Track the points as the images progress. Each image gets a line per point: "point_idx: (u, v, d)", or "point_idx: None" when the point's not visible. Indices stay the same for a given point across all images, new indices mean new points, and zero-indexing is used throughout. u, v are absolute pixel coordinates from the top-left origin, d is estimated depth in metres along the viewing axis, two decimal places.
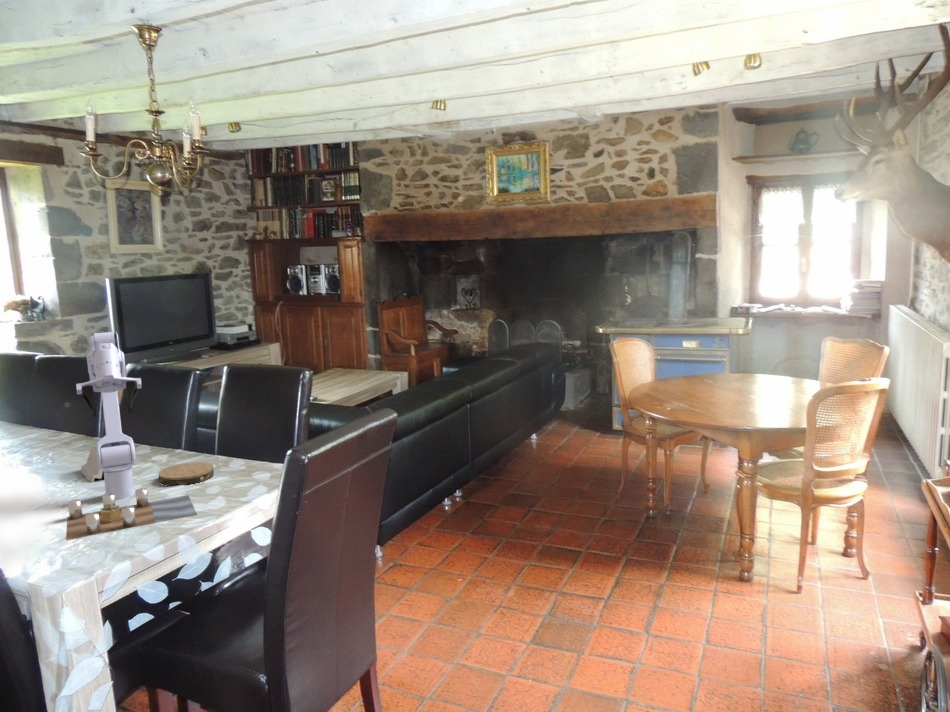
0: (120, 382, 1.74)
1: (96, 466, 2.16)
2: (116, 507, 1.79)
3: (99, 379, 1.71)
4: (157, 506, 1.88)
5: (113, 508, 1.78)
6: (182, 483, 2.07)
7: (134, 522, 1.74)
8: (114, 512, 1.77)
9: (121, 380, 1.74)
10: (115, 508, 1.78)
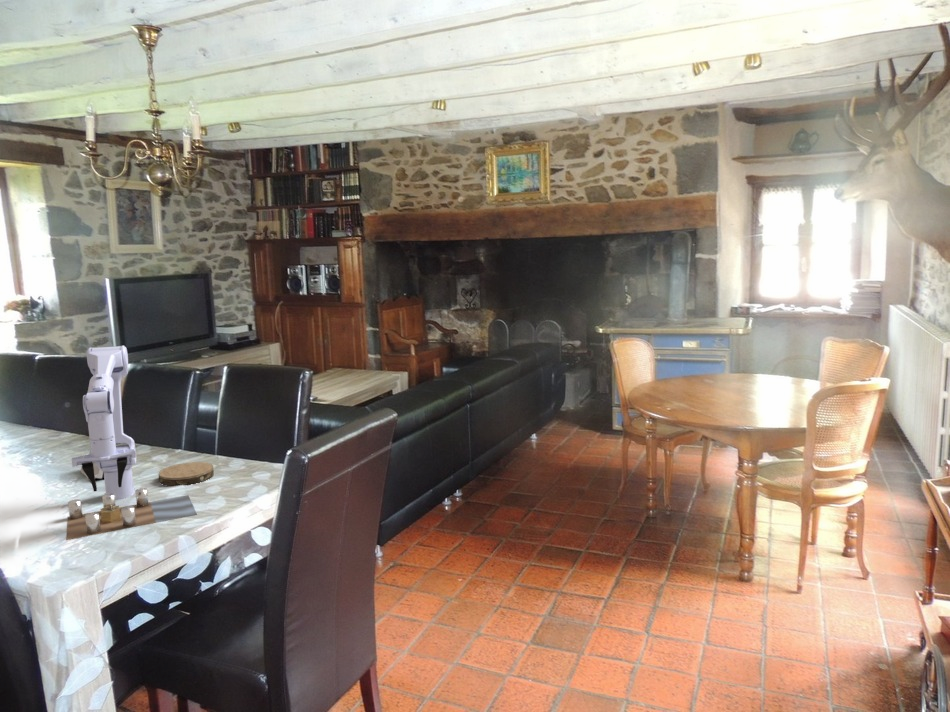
0: None
1: (96, 466, 2.17)
2: (116, 507, 1.79)
3: (95, 459, 1.73)
4: (157, 506, 1.88)
5: (113, 508, 1.78)
6: (182, 483, 2.07)
7: (134, 522, 1.74)
8: (114, 512, 1.77)
9: None
10: (115, 508, 1.78)
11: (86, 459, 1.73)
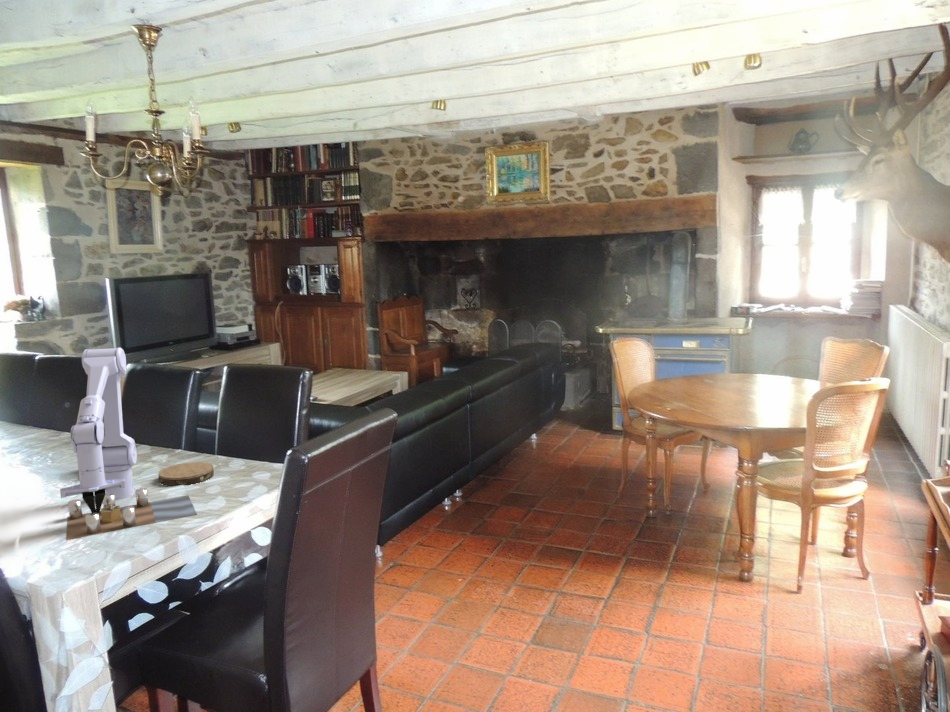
0: (104, 487, 1.76)
1: None
2: (116, 507, 1.79)
3: (83, 490, 1.73)
4: (157, 506, 1.88)
5: (113, 508, 1.78)
6: (182, 483, 2.07)
7: (134, 522, 1.74)
8: (114, 512, 1.77)
9: None
10: (115, 508, 1.78)
11: (75, 490, 1.72)
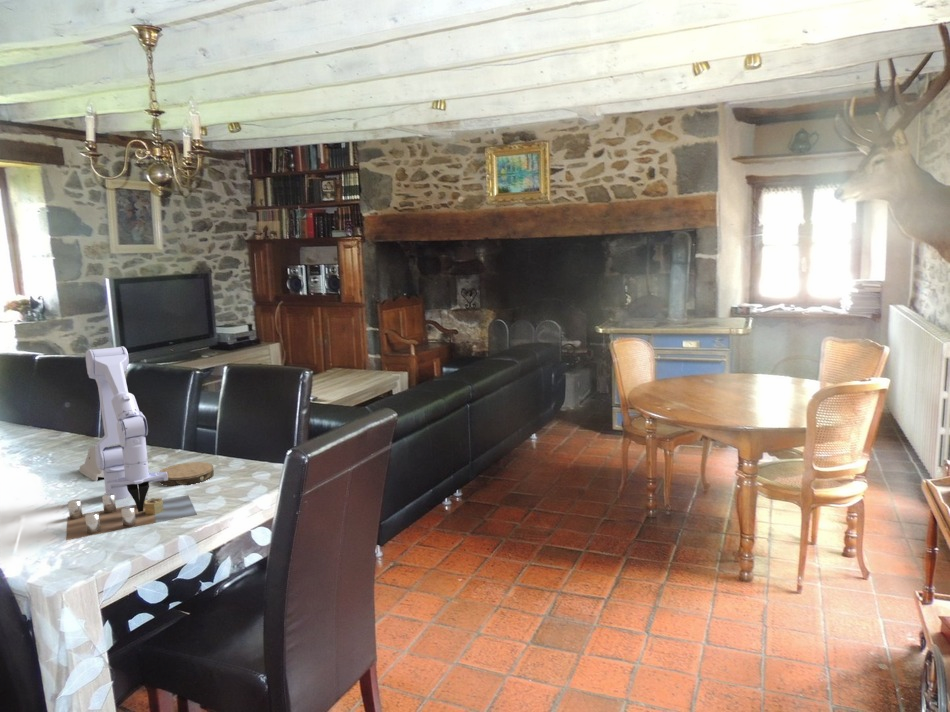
0: None
1: None
2: (159, 499, 1.84)
3: (129, 482, 1.78)
4: None
5: (156, 500, 1.83)
6: (182, 483, 2.07)
7: (134, 522, 1.74)
8: (158, 504, 1.82)
9: None
10: (158, 500, 1.83)
11: (120, 483, 1.77)
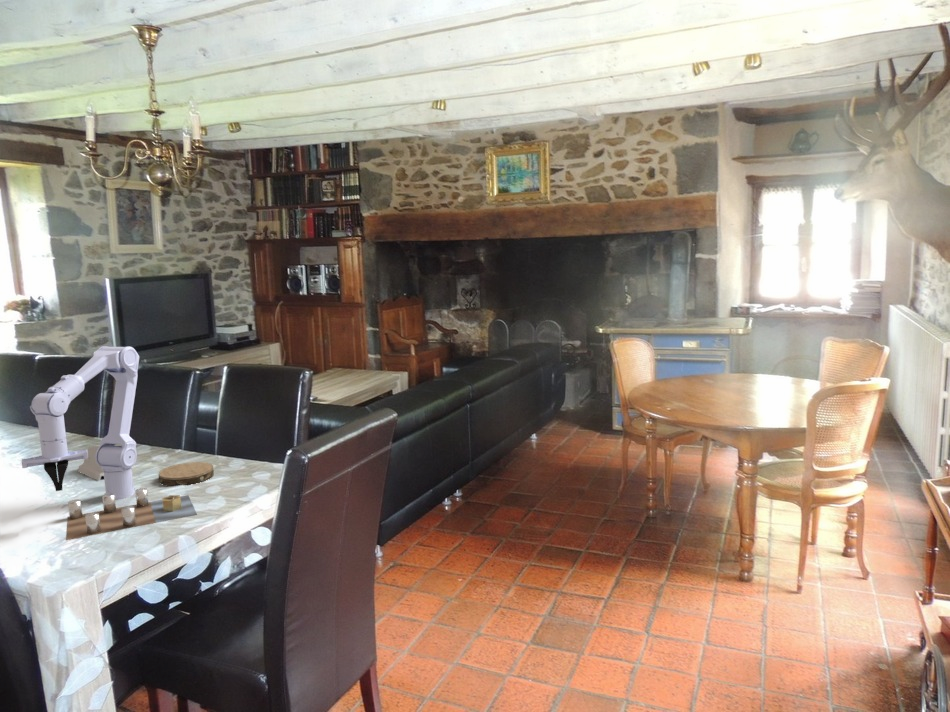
0: (66, 458, 1.76)
1: None
2: (177, 496, 1.86)
3: (45, 460, 1.73)
4: (157, 506, 1.88)
5: (174, 497, 1.85)
6: (182, 483, 2.07)
7: (134, 522, 1.74)
8: (176, 501, 1.84)
9: None
10: (176, 497, 1.85)
11: (36, 460, 1.73)
